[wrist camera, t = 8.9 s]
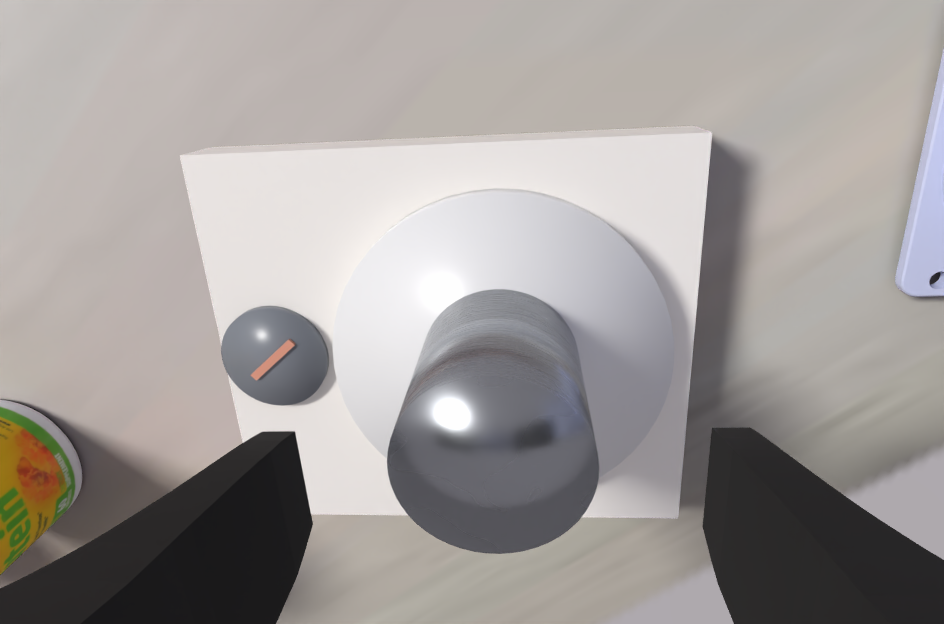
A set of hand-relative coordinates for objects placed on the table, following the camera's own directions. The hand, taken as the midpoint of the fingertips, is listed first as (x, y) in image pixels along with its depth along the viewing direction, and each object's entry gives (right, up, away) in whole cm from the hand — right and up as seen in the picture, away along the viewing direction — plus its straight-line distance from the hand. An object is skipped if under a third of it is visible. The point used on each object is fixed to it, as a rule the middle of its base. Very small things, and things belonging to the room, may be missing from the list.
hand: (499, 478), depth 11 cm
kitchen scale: (-1, +2, +9) cm, 10 cm away
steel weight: (0, +2, +7) cm, 7 cm away
